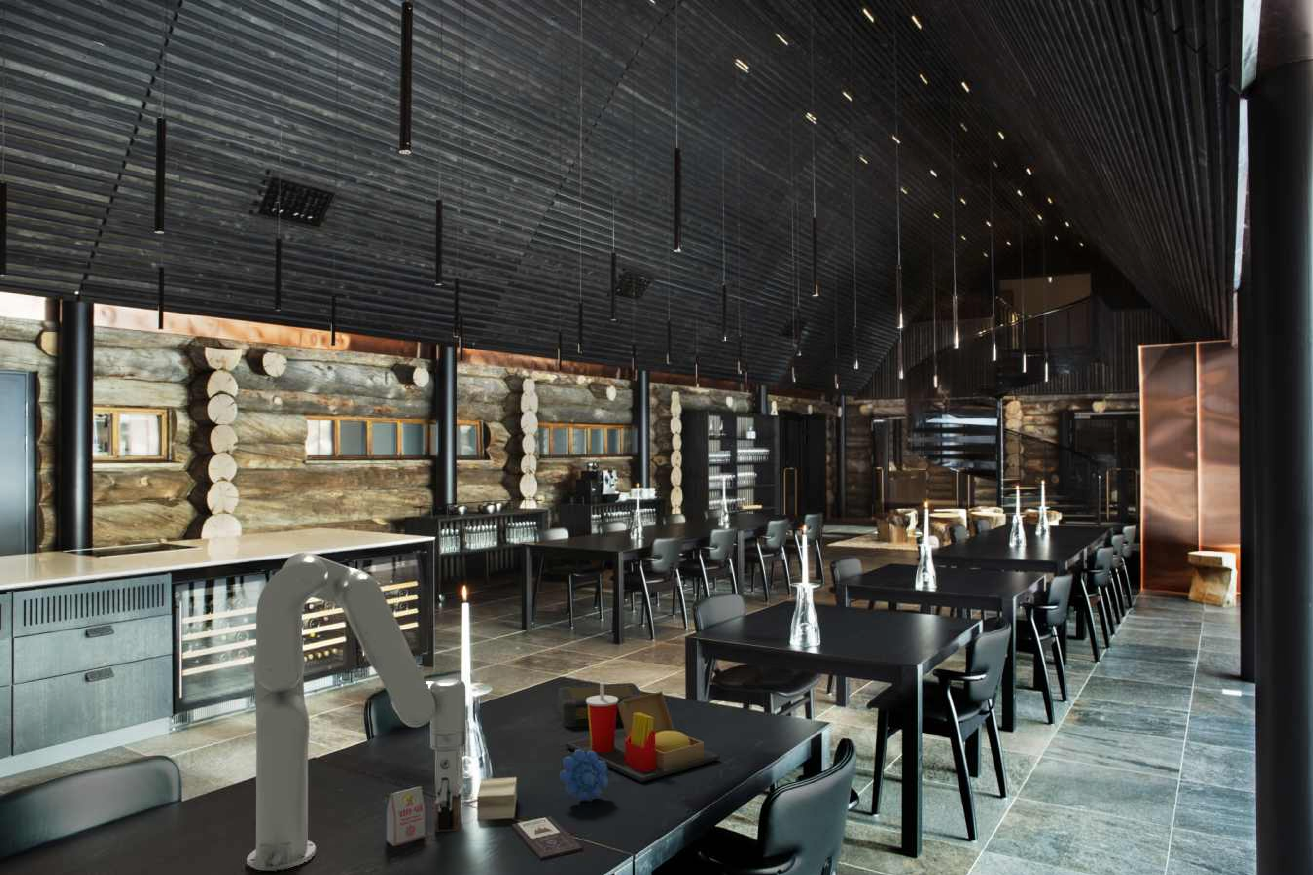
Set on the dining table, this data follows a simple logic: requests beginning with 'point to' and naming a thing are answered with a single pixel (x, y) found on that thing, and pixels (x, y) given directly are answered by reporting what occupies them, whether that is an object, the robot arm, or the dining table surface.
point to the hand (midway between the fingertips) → (448, 821)
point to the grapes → (584, 775)
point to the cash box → (575, 698)
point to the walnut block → (457, 813)
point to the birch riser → (497, 798)
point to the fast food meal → (639, 737)
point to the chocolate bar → (546, 837)
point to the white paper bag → (405, 816)
